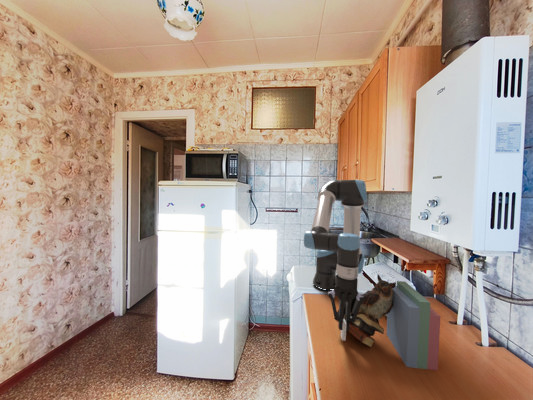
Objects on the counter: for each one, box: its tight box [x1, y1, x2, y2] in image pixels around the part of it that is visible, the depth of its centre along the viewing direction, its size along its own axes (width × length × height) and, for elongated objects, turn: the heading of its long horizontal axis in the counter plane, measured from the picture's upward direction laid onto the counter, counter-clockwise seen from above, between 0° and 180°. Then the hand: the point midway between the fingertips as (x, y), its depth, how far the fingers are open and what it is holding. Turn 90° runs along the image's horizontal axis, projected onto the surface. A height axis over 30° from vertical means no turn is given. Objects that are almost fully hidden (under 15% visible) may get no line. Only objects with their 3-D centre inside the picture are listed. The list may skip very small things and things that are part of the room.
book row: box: [386, 280, 441, 371], centre depth 75 cm, size 16×9×22 cm, turn 171°
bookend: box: [333, 274, 397, 348], centre depth 82 cm, size 15×11×25 cm
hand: (343, 337), depth 79 cm, fingers closed
